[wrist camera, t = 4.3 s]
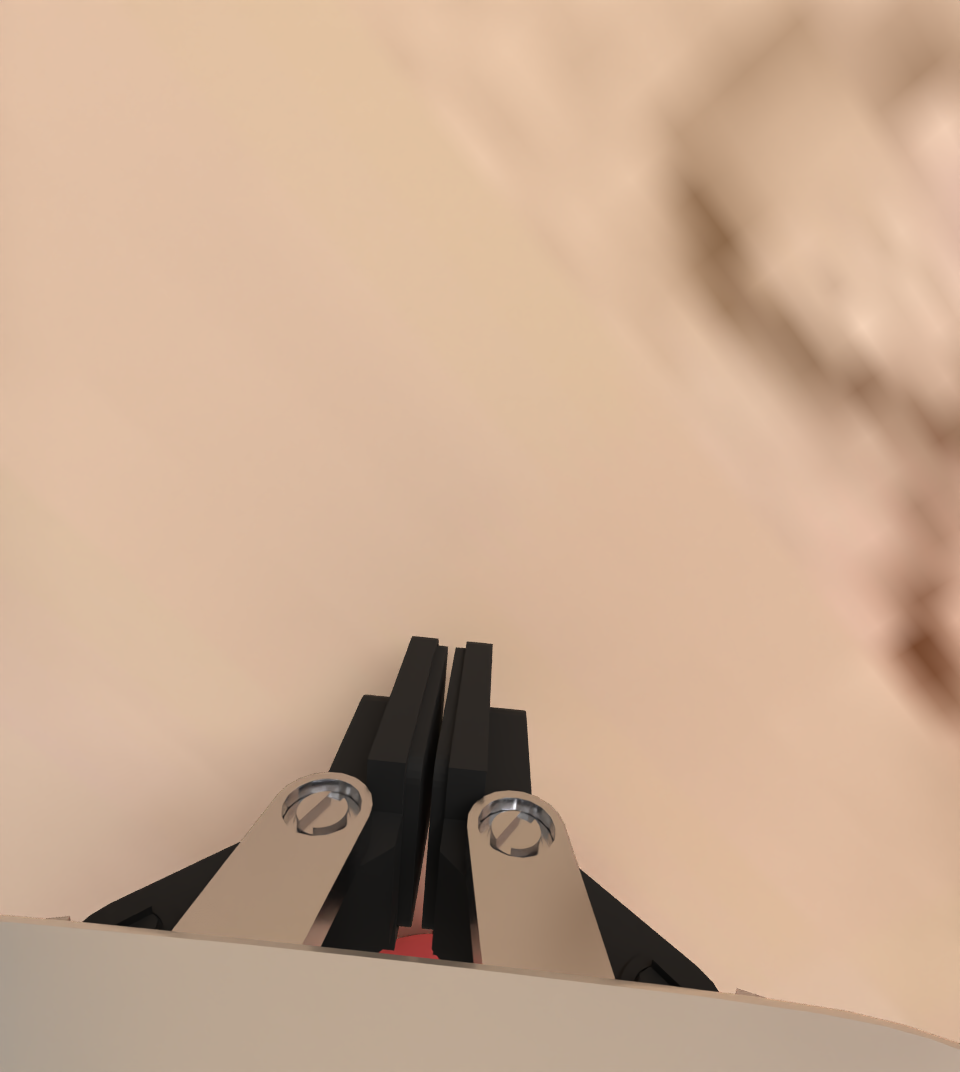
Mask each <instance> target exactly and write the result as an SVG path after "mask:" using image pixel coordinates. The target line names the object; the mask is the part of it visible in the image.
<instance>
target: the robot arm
mask: <svg viewBox="0 0 960 1072" xmlns="http://www.w3.org/2000/svg"><path fill="white" fill-rule="evenodd" d="M492 647H493V644H487V643H477V642H467V644H466V648H456V649H455V655H454V660H453V666H452V671H451V677H450V682H449V688H448V693H447V699H446V704H445V710H444V715H443V706H444V693H445V680H446V667H447V655H448V647H446V646H439V640H438V639H436V638H426V637H416V636H412V638H411V641H410V643H409V646H408V649H407V652H406V654H405V657H404V660H403V663H402V665H401V668H400V671H399V674H398V676H397V679H396V682H395V685H394V687H393V690H392V693H391V696H390V697H384V696H374V695H364V696H363V697H362V699H361V701H360V703H359V706H358V708H357V710H356V712H355V714H354V717H353V719H352V721H351V723H350V725H349V728H348V730H347V732H346V734H345V737H344V739H343V741H342V743H341V745H340V748H339V750H338V752H337V754H336V757H335V759H334V761H333V763H332V765H331V768H330V770H329V772H324V773H315V774H311V775H308V776H305V777H302V778H299V779H298V780H296V781H294V782H292V783H291V784H289V785H287V786H286V787H285V788H284V789H283V790H282V791H281V792H280V793H279V794H278V795H277V796H276V797H275V798H274V800H273V801H272V802H271V803H270V805H269V806H268V807H267V809H266V810H265V811H264V812H263V814H262V815H261V816H260V818H259V819H258V820H257V821H256V823H255V824H254V825H253V827H252V828H251V829H250V830H249V832H248V833H247V834H246V836H245V837H244V838H243V839H242V841H241V842H239V843H237V844H235V845H232V846H230V847H228V848H226V849H224V850H222V851H220V852H218V853H216V854H213V855H211V856H209V857H207V858H205V859H203V860H201V861H199V862H197V863H195V864H192V865H190V866H188V867H186V868H184V869H182V870H180V871H178V872H176V873H173V874H171V875H169V876H167V877H165V878H163V879H161V880H159V881H157V882H154V883H152V884H150V885H148V886H146V887H144V888H142V889H140V890H138V891H135V892H133V893H131V894H129V895H127V896H125V897H123V898H121V899H119V900H117V901H114V902H112V903H110V904H109V905H107V906H105V907H104V908H102V909H100V910H98V911H97V912H95V913H93V914H92V915H90V916H89V917H88V918H87V919H85V920H84V921H83V922H75V921H71V920H70V916H66V917H56V918H46V919H43V918H32V917H21V916H11V915H0V1072H960V1043H957V1042H954V1041H951V1040H948V1039H945V1038H942V1037H939V1036H936V1035H933V1034H930V1033H927V1032H924V1031H921V1030H918V1029H915V1028H912V1027H910V1026H907V1025H904V1024H899V1023H895V1022H891V1021H887V1020H883V1019H878V1018H874V1017H870V1016H866V1015H862V1014H858V1013H854V1012H850V1011H844V1010H838V1009H831V1008H825V1007H819V1006H812V1005H806V1004H800V1003H793V1002H787V1001H781V1000H775V999H768V998H765V997H762V996H759V995H756V994H753V993H750V992H747V991H744V990H741V989H738V988H737V989H736V993H735V994H731V993H723V992H719V991H718V990H717V988H716V987H715V985H714V983H713V982H712V981H711V980H710V979H709V978H708V977H707V976H706V975H705V974H704V973H703V972H702V971H701V970H700V969H699V968H698V967H697V966H696V965H695V964H694V963H692V962H691V961H690V960H689V959H688V958H686V957H685V956H684V955H683V954H682V953H680V952H679V951H678V950H677V949H676V948H674V947H673V946H672V945H671V944H670V943H668V942H667V941H666V940H665V939H664V938H662V937H661V936H660V935H659V934H658V933H656V932H655V931H654V930H653V929H652V928H650V927H649V926H648V925H647V924H646V923H644V922H643V921H642V920H641V919H640V918H638V917H637V916H636V915H635V914H634V913H632V912H631V911H630V910H629V909H628V908H626V907H625V906H624V905H623V904H622V903H620V902H619V901H618V900H617V899H616V898H614V897H613V896H612V895H611V894H610V893H608V892H607V891H606V890H605V889H604V888H602V887H601V886H600V885H599V884H598V883H596V882H595V881H594V880H593V879H592V878H590V877H589V876H588V875H587V874H586V873H584V872H583V871H582V870H581V869H580V868H579V867H578V864H577V861H576V858H575V854H574V851H573V848H572V845H571V842H570V839H569V836H568V833H567V830H566V827H565V824H564V822H563V821H562V819H561V817H560V815H559V813H558V812H557V811H556V810H555V809H554V808H553V807H552V806H551V805H550V804H548V803H547V802H545V801H543V800H542V799H540V798H539V797H537V796H534V795H532V794H531V779H530V763H529V748H528V733H527V718H526V711H524V710H514V709H504V708H494V707H490V691H491V669H492ZM442 718H443V720H442ZM429 821H430V825H429ZM428 827H429V838H428V851H427V864H426V877H425V890H424V904H423V917H422V928H423V929H432V930H433V938H432V951H433V955H436V956H437V957H438V958H439V959H440V960H439V959H430V958H421V957H412V956H403V955H394V954H385V953H379V952H380V951H381V950H393V951H394V949H395V944H396V939H397V934H398V929H399V926H404V927H411V926H412V921H413V915H414V909H415V904H416V898H417V892H418V886H419V880H420V874H421V868H422V863H423V857H424V851H425V845H426V839H427V833H428Z"/></svg>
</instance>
